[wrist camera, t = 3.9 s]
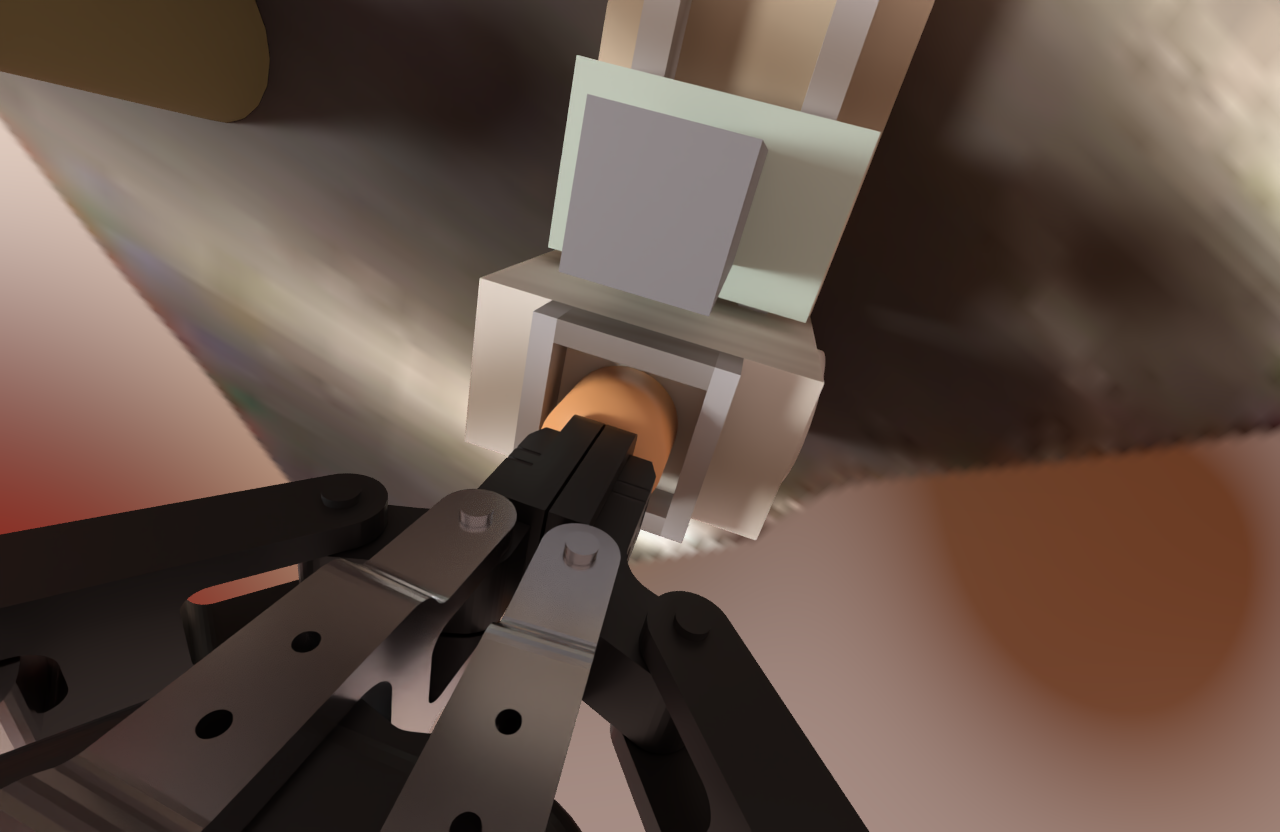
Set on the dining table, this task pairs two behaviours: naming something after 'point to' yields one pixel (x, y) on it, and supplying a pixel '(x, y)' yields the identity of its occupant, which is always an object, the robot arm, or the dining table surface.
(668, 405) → the button
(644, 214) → the carriage
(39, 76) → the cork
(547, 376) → the rail
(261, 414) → the dining table surface
